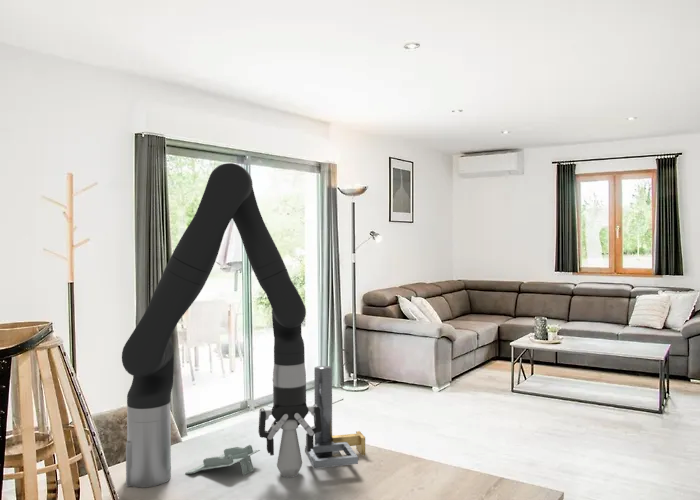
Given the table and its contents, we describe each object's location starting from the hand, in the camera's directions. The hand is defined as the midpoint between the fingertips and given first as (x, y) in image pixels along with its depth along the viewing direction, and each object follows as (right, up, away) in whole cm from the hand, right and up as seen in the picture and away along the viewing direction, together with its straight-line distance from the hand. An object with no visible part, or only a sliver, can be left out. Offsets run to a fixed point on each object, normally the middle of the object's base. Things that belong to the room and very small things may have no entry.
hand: (290, 452), depth 133 cm
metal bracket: (-15, -6, +4) cm, 17 cm away
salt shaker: (0, -5, 0) cm, 5 cm away
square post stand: (+11, -5, +8) cm, 14 cm away
